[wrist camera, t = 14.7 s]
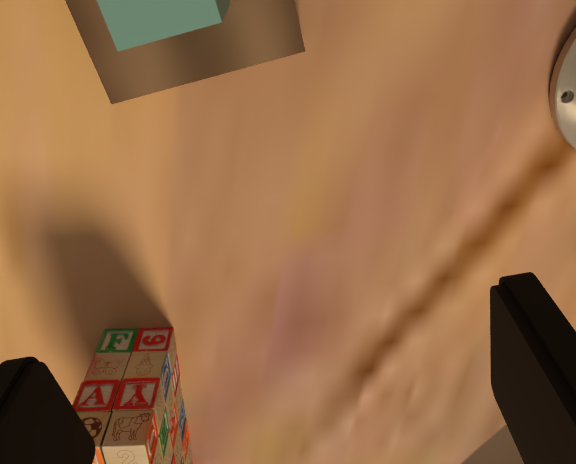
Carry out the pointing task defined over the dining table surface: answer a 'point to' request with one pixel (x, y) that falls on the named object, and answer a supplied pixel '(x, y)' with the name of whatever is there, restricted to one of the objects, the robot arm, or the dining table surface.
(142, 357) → the stack of blocks
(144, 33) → the teal block
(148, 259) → the dining table surface
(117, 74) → the walnut block
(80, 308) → the dining table surface
